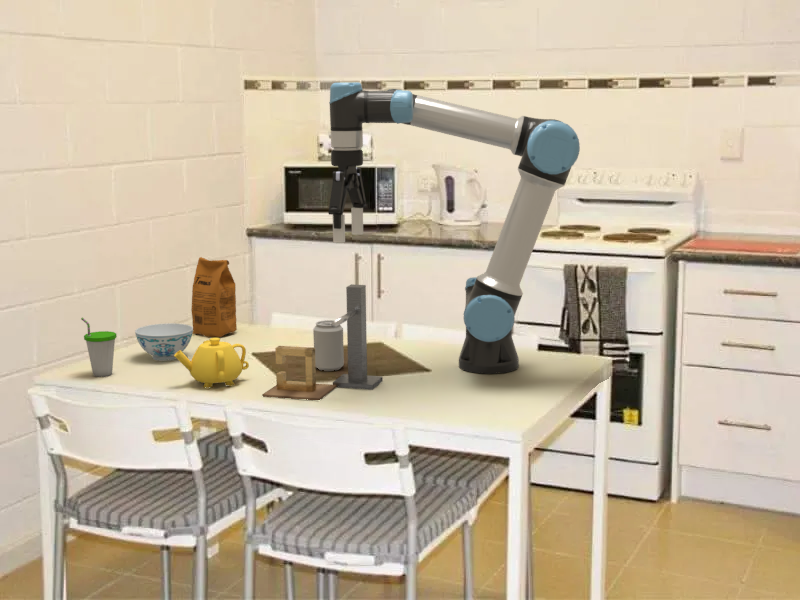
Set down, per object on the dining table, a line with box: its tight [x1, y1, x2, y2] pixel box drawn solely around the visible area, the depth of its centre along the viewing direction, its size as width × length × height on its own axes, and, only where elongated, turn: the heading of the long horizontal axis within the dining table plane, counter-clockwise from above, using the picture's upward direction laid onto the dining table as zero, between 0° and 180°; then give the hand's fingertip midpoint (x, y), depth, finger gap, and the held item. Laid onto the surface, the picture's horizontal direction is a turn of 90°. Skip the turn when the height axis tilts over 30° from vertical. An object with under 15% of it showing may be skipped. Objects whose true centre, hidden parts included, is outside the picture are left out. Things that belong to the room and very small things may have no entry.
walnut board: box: [261, 383, 338, 401], centre depth 272 cm, size 14×12×1 cm
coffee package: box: [190, 256, 238, 338], centre depth 333 cm, size 10×12×22 cm
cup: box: [80, 317, 117, 378], centre depth 288 cm, size 8×8×15 cm
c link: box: [274, 345, 317, 392], centre depth 271 cm, size 9×2×10 cm, turn 74°
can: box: [312, 319, 345, 372], centre depth 293 cm, size 8×8×12 cm
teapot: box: [174, 337, 250, 389], centre depth 280 cm, size 14×14×11 cm
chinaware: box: [134, 322, 193, 362], centre depth 306 cm, size 15×15×8 cm
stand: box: [331, 283, 384, 391], centre depth 270 cm, size 10×20×24 cm, turn 164°
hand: (348, 238), depth 276 cm, fingers open, 13 cm apart
